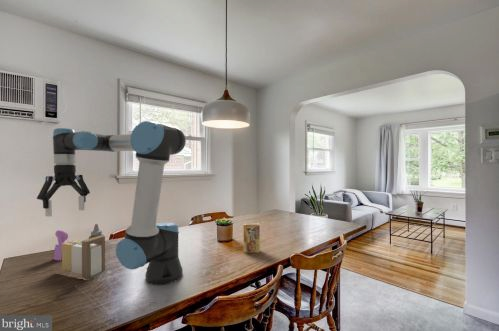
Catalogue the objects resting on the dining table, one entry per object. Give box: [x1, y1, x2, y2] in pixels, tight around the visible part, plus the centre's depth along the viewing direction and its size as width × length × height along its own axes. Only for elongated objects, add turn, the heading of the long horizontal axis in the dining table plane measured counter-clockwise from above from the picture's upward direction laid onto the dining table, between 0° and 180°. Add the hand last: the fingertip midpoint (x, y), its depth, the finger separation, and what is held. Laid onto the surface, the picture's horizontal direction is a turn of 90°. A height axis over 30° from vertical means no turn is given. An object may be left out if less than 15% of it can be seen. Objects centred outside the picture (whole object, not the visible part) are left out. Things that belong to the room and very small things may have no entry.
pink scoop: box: [52, 229, 70, 262], centre depth 124 cm, size 8×9×15 cm
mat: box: [85, 267, 112, 281], centre depth 109 cm, size 24×12×1 cm, turn 71°
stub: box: [61, 239, 82, 272], centre depth 110 cm, size 6×5×12 cm
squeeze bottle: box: [88, 223, 107, 252], centre depth 122 cm, size 8×8×18 cm
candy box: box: [243, 222, 261, 253], centre depth 133 cm, size 9×4×15 cm, turn 92°
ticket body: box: [71, 235, 106, 278], centre depth 107 cm, size 12×8×16 cm
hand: (66, 213), depth 105 cm, fingers open, 13 cm apart
